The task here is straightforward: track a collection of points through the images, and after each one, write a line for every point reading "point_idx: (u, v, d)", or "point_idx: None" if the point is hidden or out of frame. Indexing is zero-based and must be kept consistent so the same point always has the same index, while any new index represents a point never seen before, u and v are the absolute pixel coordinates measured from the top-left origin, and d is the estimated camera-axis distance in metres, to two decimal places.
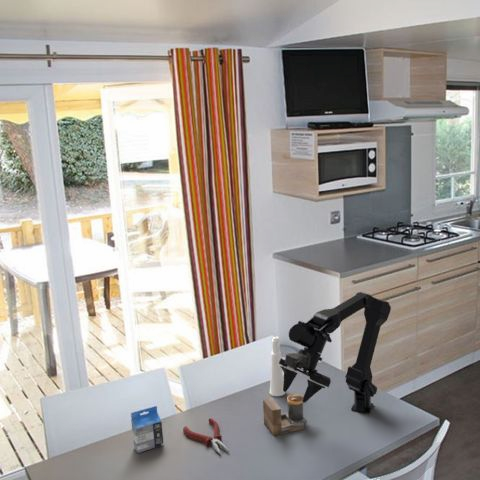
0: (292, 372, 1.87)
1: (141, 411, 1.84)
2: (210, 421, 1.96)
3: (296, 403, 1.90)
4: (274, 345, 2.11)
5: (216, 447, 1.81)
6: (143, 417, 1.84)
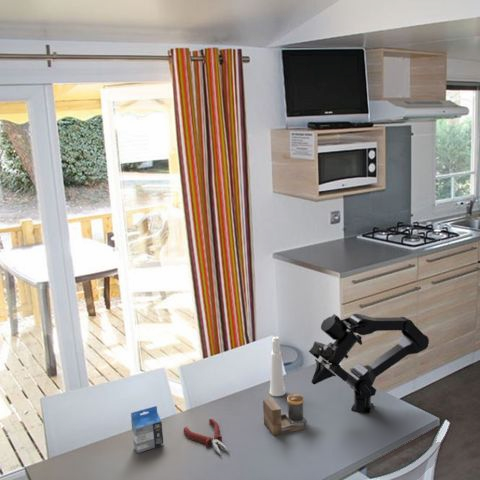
0: None
1: (141, 411, 1.84)
2: (210, 422, 1.96)
3: (296, 403, 1.90)
4: (274, 345, 2.11)
5: (216, 448, 1.80)
6: (143, 417, 1.84)
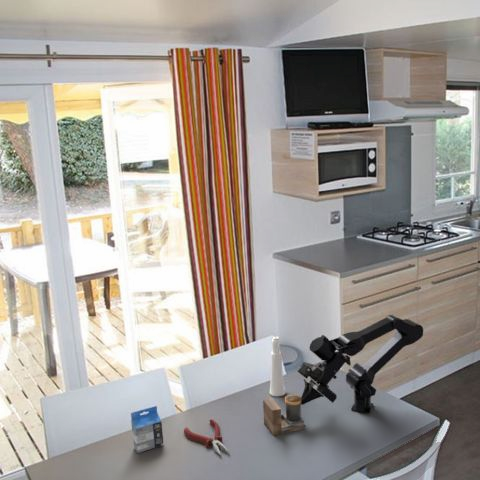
0: None
1: (141, 411, 1.84)
2: (211, 422, 1.96)
3: (294, 404, 1.90)
4: (274, 345, 2.11)
5: (216, 448, 1.80)
6: (143, 417, 1.84)
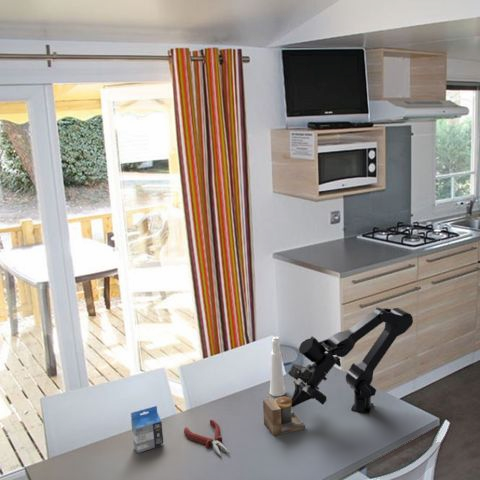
0: None
1: (141, 411, 1.84)
2: (211, 422, 1.96)
3: (284, 406, 1.89)
4: (274, 345, 2.11)
5: (216, 449, 1.80)
6: (143, 417, 1.84)
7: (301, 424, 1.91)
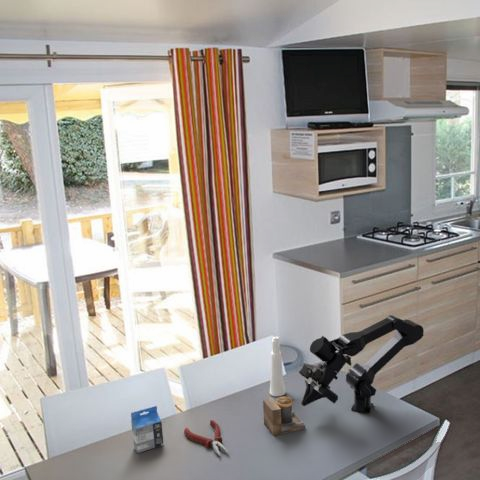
0: None
1: (141, 411, 1.84)
2: (211, 423, 1.95)
3: (285, 406, 1.89)
4: (274, 345, 2.11)
5: (216, 449, 1.79)
6: (143, 417, 1.84)
7: (301, 424, 1.91)
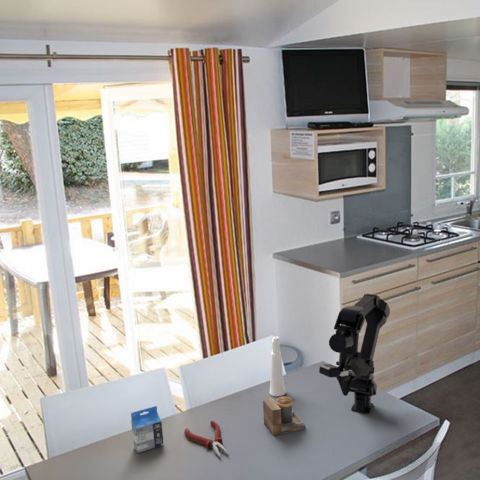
0: None
1: (141, 411, 1.84)
2: (212, 423, 1.95)
3: (285, 406, 1.89)
4: (274, 345, 2.11)
5: (216, 450, 1.79)
6: (143, 417, 1.84)
7: (301, 424, 1.91)
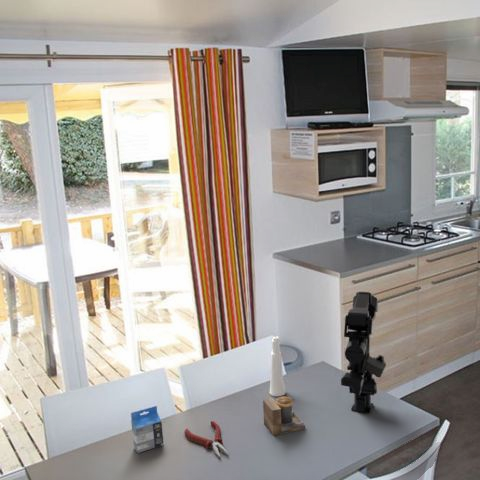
0: None
1: (141, 411, 1.84)
2: (212, 424, 1.95)
3: (285, 406, 1.89)
4: (274, 345, 2.11)
5: (216, 450, 1.79)
6: (143, 417, 1.84)
7: (301, 424, 1.91)
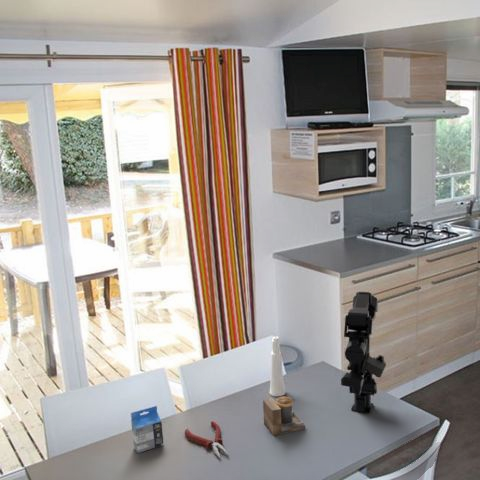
0: None
1: (141, 411, 1.84)
2: (212, 424, 1.95)
3: (285, 406, 1.89)
4: (274, 345, 2.11)
5: (216, 451, 1.79)
6: (143, 417, 1.84)
7: (301, 424, 1.91)
